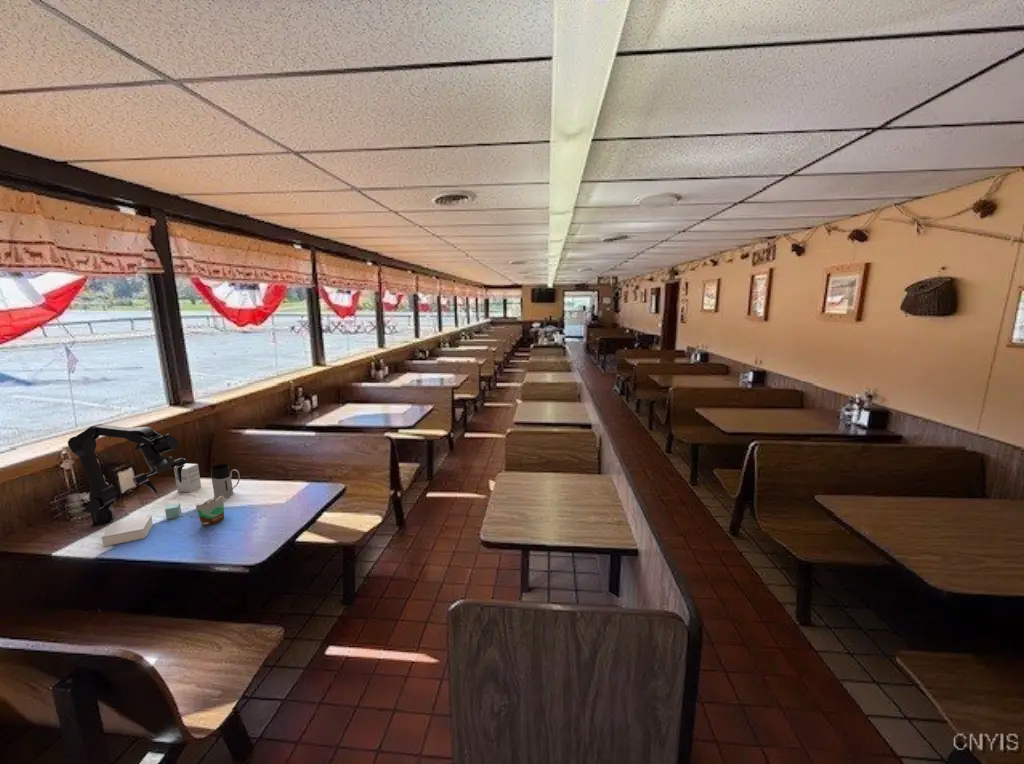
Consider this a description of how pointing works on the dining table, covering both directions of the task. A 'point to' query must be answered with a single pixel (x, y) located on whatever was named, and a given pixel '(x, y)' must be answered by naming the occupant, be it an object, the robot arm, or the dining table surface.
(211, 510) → the food container
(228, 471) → the grey black mug
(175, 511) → the teal block
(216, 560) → the dining table surface
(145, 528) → the flat beige block
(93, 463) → the robot arm
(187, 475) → the supplement box
